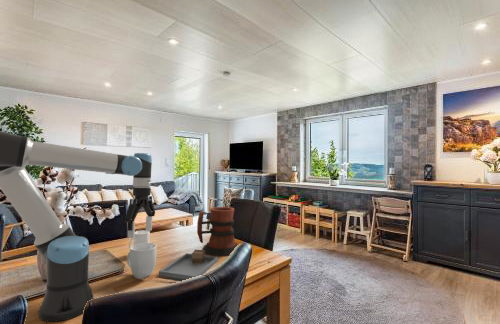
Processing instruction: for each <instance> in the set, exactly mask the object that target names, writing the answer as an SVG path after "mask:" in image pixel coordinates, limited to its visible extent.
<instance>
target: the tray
mask: <svg viewBox="0 0 500 324" xmlns="http://www.w3.org/2000/svg"><path fill="white" fill-rule="evenodd" d="M218 261H219V256H213V255H205V260H204V261H203V263H202V264H201V263H192V253H187V252H186V253H185V254H183V255H182V256H180V257H179V258H177V259H175V260H174V261H172V262H171V263H169V264H168V265H166V266H165V267H163V268H162V269H160V270H159V271H158V279H164V280H168V281H174V282H175V281H176V282H182V280H186V279H189V278H192V277H196V276H199V275H202V276H203V275H204V274H205V273H207V271H208V270H210V269H211V268H212V267H213V266H214V265H216V264H217V262H218ZM159 276H161V277H159Z"/></svg>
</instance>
